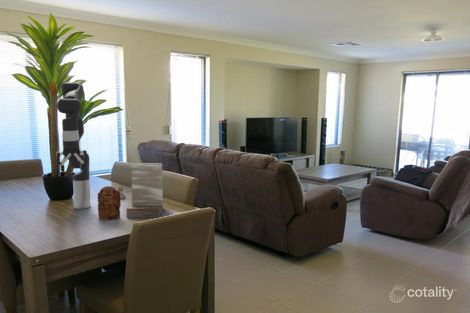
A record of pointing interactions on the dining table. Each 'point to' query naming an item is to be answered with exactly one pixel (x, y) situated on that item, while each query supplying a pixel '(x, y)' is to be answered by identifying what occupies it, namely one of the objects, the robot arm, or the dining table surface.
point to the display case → (146, 190)
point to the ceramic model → (119, 189)
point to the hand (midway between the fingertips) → (72, 171)
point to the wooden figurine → (108, 203)
